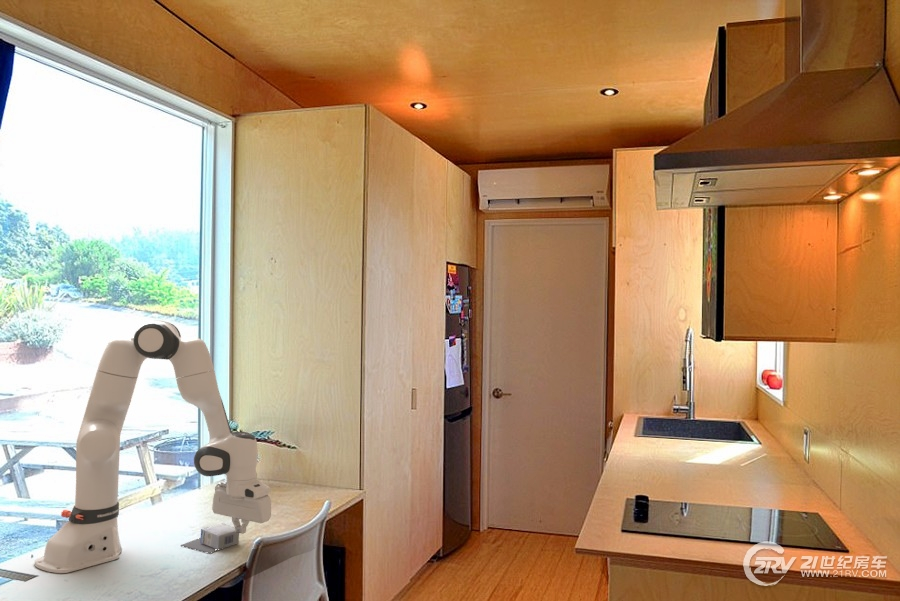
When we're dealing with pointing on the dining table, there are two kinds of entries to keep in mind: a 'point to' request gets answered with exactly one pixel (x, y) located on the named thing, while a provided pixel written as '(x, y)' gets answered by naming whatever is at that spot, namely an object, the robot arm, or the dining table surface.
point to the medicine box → (219, 536)
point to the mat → (198, 546)
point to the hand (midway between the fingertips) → (240, 532)
